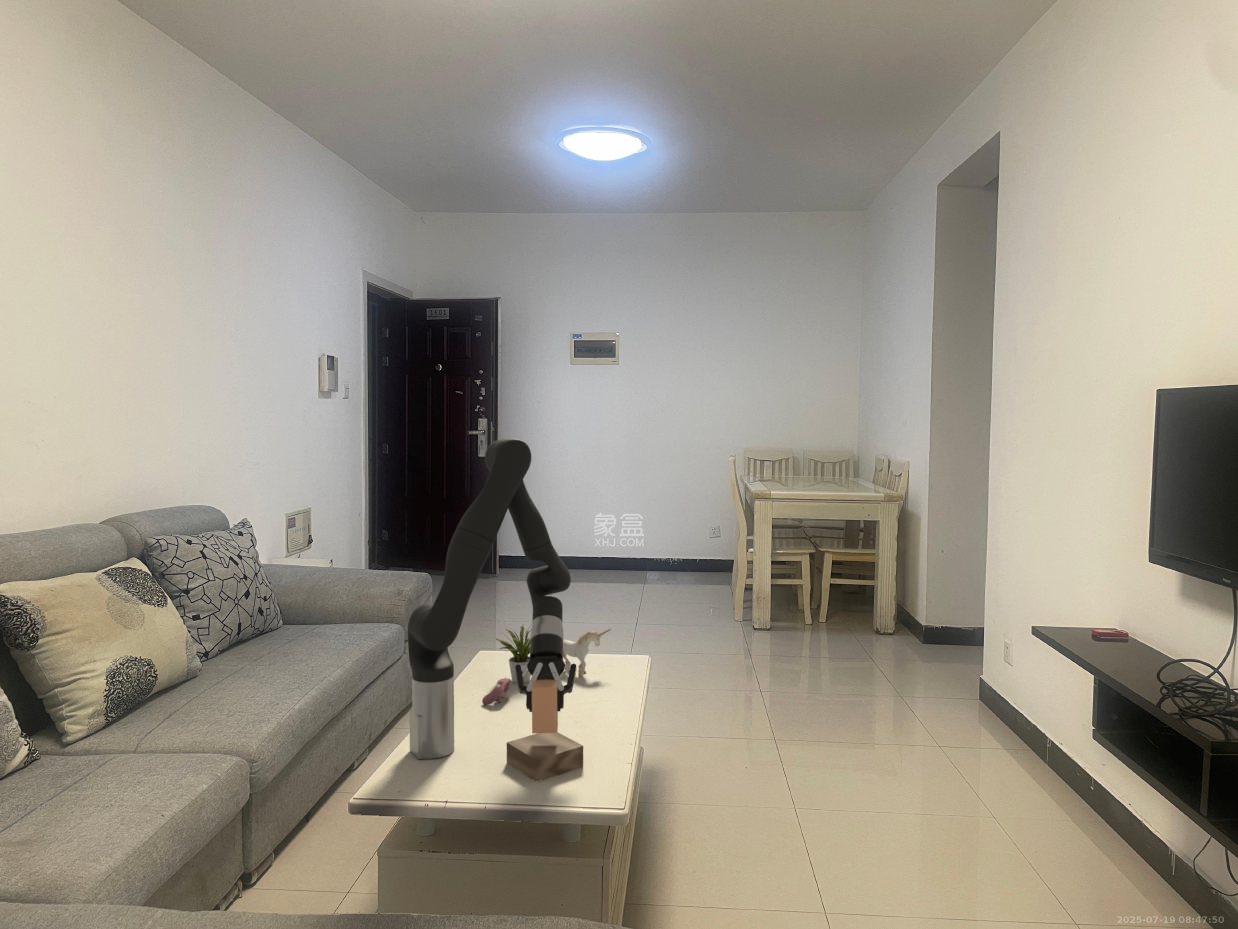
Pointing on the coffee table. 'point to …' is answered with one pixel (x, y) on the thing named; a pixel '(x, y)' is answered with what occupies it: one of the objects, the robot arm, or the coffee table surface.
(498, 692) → the pink rounded piece
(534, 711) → the peach block
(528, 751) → the walnut block
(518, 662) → the house plant
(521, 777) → the coffee table surface
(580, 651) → the unicorn figurine
